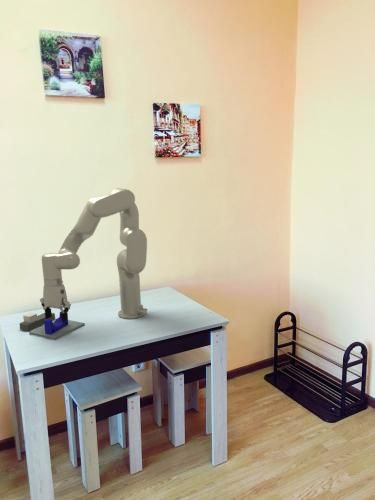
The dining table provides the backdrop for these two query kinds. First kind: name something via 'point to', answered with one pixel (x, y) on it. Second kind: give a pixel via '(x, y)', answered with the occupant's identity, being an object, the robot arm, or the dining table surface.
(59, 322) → the blue curved block
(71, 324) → the slate mat
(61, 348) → the dining table surface
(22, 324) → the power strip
